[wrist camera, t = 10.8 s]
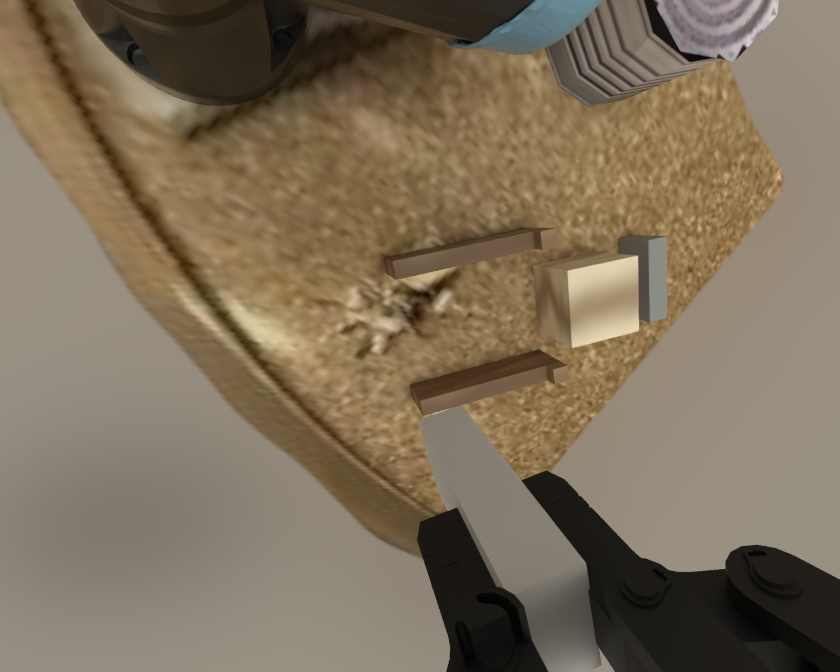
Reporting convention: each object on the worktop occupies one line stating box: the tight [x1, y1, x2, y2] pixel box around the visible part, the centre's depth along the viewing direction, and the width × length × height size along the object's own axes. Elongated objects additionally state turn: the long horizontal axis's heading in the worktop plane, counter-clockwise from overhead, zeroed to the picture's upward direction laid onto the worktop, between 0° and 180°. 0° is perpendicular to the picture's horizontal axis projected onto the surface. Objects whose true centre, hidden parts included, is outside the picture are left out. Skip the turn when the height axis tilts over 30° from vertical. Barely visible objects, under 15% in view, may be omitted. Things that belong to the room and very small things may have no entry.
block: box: [533, 252, 639, 348], centre depth 40 cm, size 7×7×6 cm
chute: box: [384, 228, 569, 416], centre depth 38 cm, size 14×14×5 cm
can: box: [545, 0, 779, 106], centre depth 32 cm, size 11×11×12 cm
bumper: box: [619, 235, 667, 322], centre depth 42 cm, size 8×2×4 cm, turn 11°
